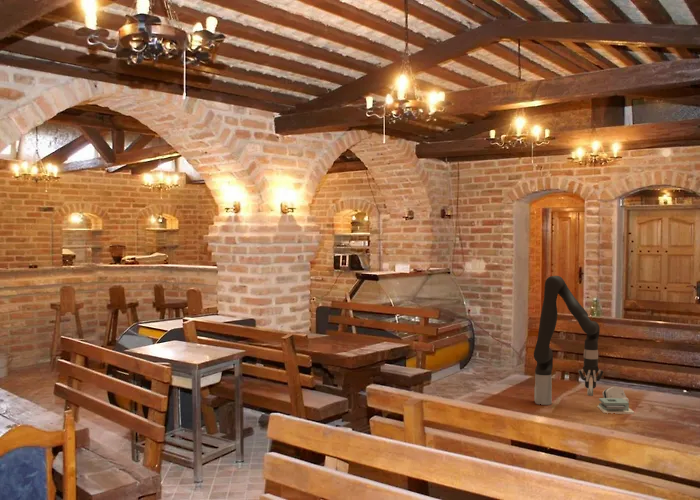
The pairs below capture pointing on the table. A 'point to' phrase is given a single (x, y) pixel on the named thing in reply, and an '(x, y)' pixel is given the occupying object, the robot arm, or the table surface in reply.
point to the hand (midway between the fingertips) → (590, 387)
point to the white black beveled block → (615, 393)
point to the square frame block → (614, 406)
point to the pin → (590, 386)
